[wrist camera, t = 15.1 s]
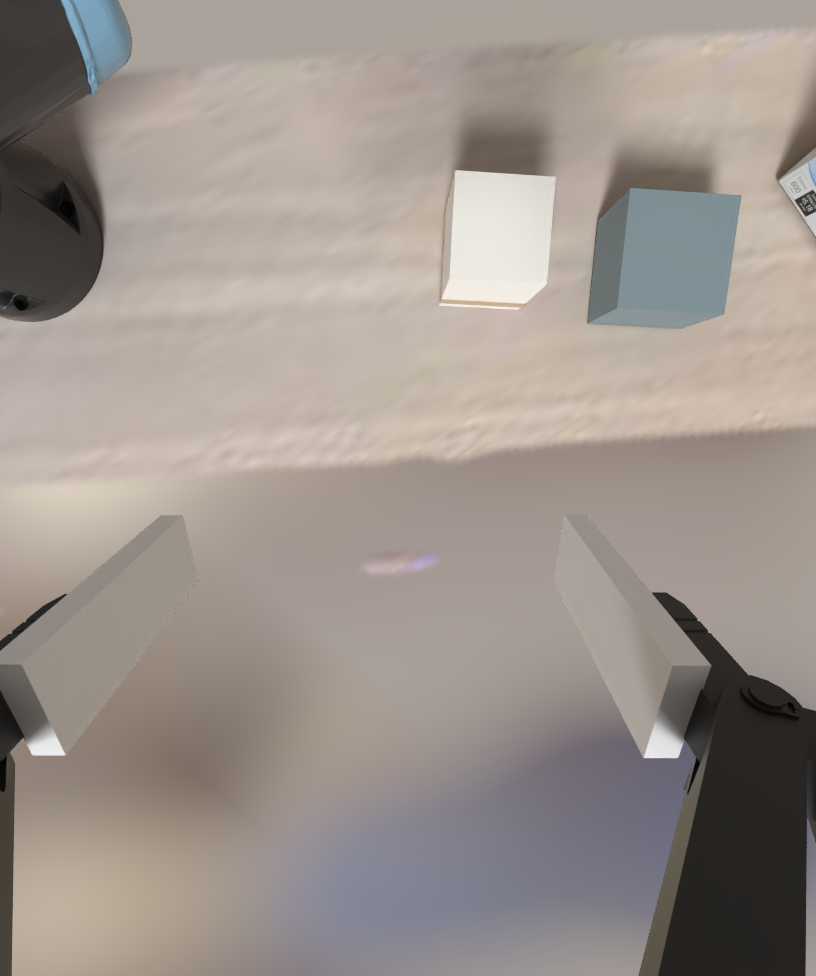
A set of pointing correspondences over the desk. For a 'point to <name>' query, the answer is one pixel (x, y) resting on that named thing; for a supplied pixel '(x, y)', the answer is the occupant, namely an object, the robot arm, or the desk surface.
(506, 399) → the desk surface
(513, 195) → the carton
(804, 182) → the light bulb box
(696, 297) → the grey-blue square block
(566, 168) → the desk surface
